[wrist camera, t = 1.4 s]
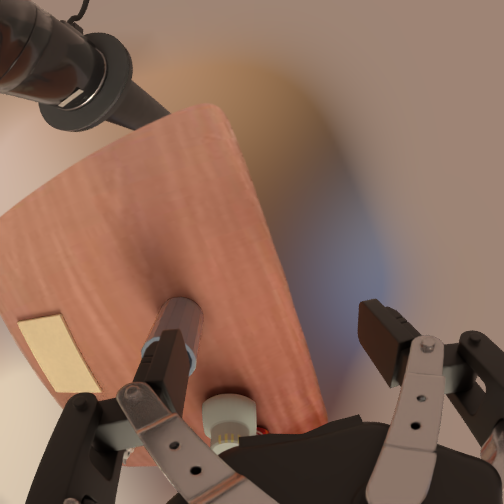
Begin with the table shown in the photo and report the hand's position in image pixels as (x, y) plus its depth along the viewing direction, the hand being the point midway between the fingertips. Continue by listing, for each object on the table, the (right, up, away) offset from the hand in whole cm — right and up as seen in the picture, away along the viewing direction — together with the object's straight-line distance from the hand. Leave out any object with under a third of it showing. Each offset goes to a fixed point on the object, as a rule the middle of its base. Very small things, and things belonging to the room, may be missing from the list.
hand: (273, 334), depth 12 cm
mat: (-35, -15, +28) cm, 47 cm away
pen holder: (-11, -5, +27) cm, 29 cm away
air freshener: (-5, -23, +32) cm, 40 cm away
